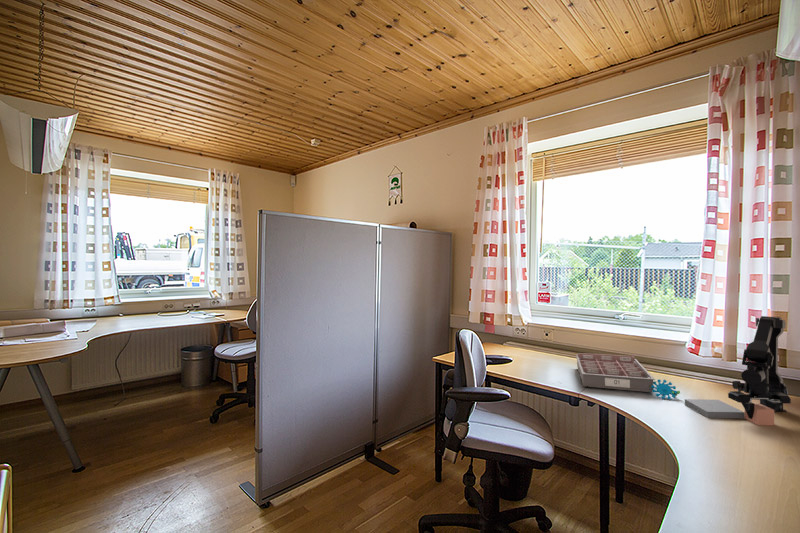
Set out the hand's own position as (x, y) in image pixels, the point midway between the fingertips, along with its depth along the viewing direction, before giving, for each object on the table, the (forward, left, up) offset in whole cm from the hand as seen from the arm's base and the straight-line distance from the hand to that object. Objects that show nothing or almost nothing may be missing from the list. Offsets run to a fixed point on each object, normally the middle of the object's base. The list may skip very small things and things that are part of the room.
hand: (759, 418), depth 146 cm
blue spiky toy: (+20, -26, -2) cm, 33 cm away
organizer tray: (+33, -52, -2) cm, 62 cm away
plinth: (+10, -10, -1) cm, 14 cm away
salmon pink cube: (0, 0, -1) cm, 1 cm away
